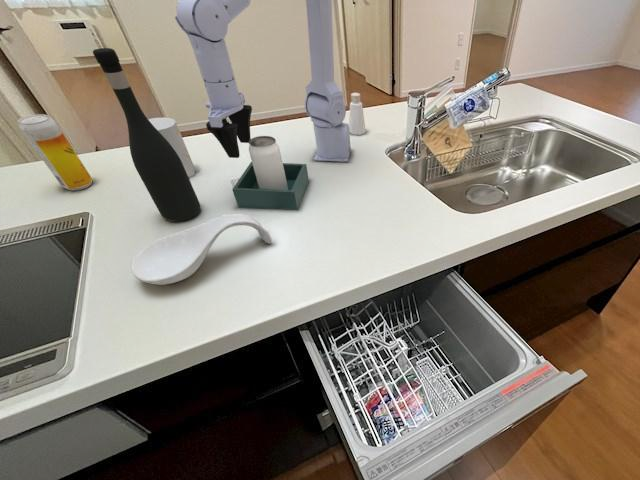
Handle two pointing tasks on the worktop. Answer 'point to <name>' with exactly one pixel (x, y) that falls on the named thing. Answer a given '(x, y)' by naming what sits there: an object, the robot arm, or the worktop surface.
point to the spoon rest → (186, 250)
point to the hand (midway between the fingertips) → (240, 149)
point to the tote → (269, 198)
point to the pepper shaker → (356, 116)
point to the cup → (174, 141)
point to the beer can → (55, 151)
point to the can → (267, 163)
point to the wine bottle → (151, 149)
